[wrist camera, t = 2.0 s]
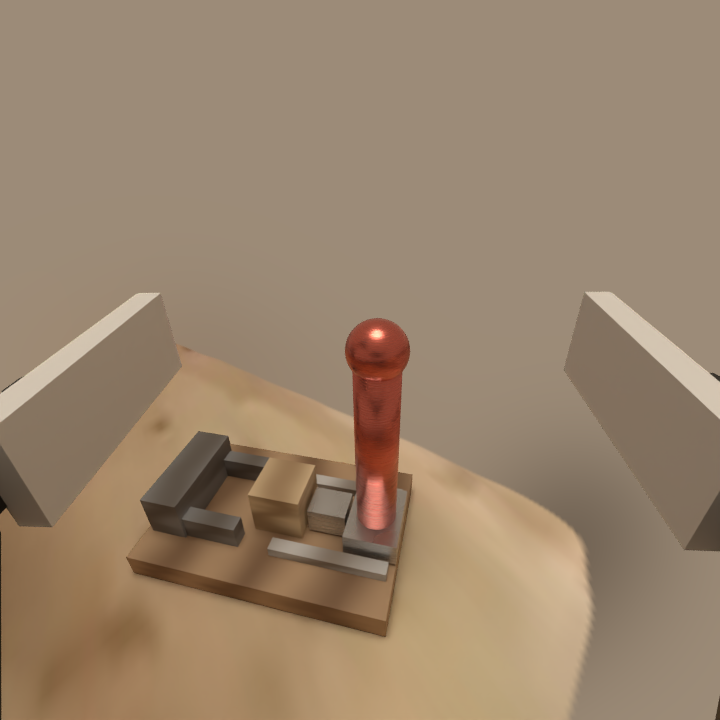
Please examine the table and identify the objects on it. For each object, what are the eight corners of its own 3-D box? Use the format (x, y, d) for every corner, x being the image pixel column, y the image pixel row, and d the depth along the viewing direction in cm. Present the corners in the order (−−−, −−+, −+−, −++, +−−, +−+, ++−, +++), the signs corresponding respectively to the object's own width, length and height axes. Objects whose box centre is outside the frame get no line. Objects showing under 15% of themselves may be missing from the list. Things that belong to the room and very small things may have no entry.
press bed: (134, 572, 33) (110, 526, 30) (219, 455, 43) (208, 413, 40) (385, 636, 28) (386, 590, 25) (411, 489, 39) (414, 445, 36)
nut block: (255, 528, 33) (247, 494, 31) (275, 490, 37) (269, 457, 35) (302, 538, 33) (297, 504, 31) (318, 498, 36) (315, 465, 34)
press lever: (303, 544, 32) (272, 334, 22) (323, 492, 36) (306, 296, 27) (395, 564, 30) (406, 348, 21) (406, 507, 35) (418, 305, 25)
